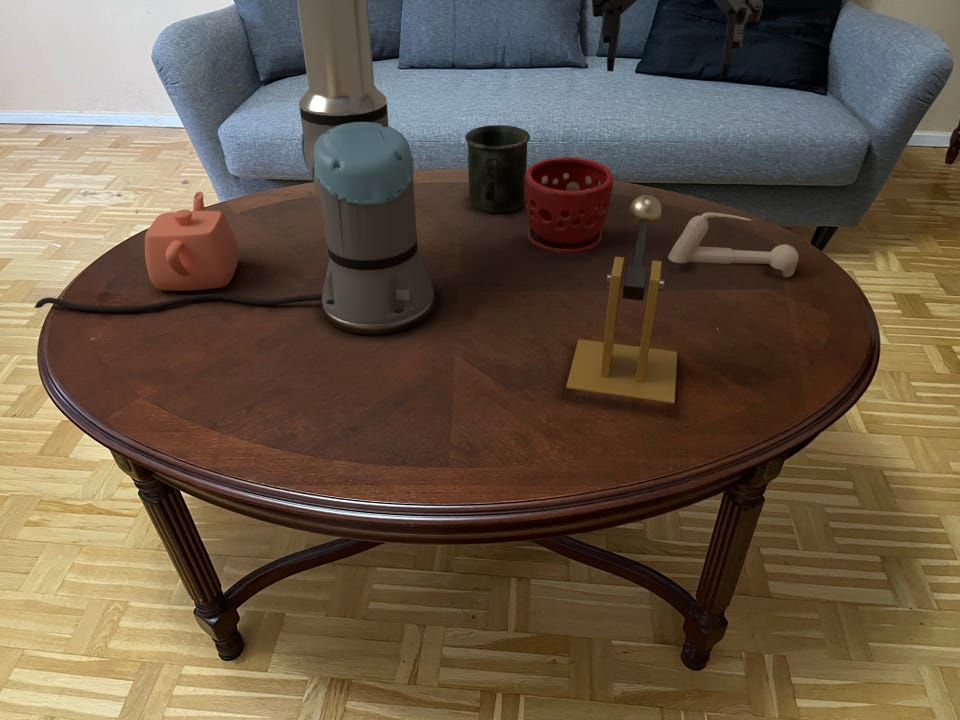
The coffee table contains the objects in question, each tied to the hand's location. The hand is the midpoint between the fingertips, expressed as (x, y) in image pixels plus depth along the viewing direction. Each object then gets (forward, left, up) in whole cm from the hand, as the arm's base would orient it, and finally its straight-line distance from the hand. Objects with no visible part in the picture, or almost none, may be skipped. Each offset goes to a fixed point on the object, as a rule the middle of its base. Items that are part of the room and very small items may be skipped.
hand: (666, 68), depth 87 cm
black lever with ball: (0, -19, -16) cm, 25 cm away
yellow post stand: (0, -24, -29) cm, 38 cm away
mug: (-26, +21, -29) cm, 44 cm away
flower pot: (-12, +9, -29) cm, 33 cm away
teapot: (-63, -13, -29) cm, 71 cm away
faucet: (+13, +7, -29) cm, 33 cm away
